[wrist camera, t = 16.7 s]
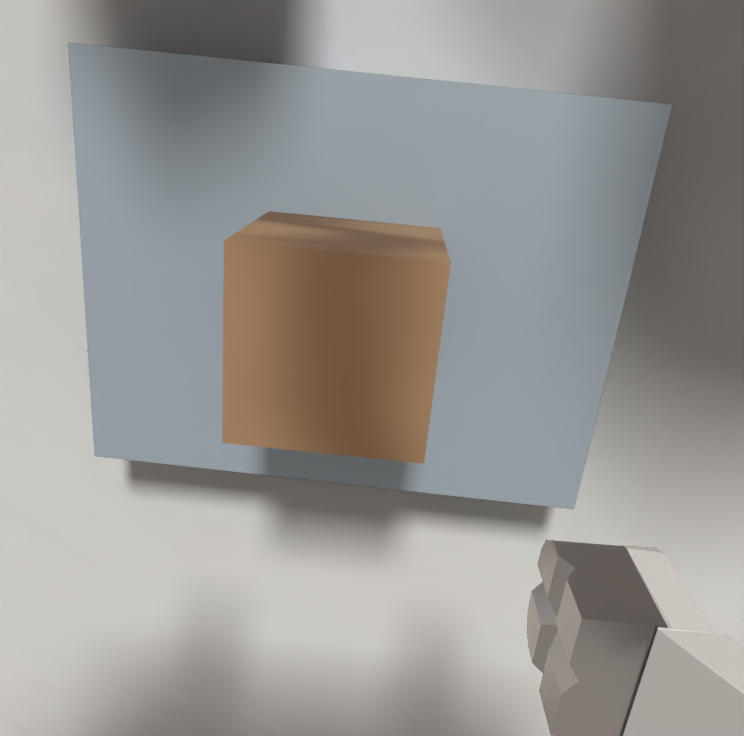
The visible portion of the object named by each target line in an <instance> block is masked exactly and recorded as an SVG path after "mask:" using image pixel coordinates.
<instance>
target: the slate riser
mask: <svg viewBox="0 0 744 736" xmlns="http://www.w3.org/2000/svg"><path fill="white" fill-rule="evenodd" d="M68 46H69V61H70V77H71V93H72V108H73V124H74V140H75V156H76V171H77V187H78V203H79V218H80V234H81V250H82V265H83V281H84V297H85V312H86V328H87V344H88V359H89V375H90V391H91V407H92V422H93V438H94V454H95V456H97V457H106V458H115V459H124V460H133V461H142V462H151V463H160V464H169V465H178V466H187V467H196V468H205V469H214V470H223V471H232V472H241V473H250V474H260V475H269V476H278V477H287V478H296V479H305V480H314V481H323V482H332V483H341V484H350V485H359V486H368V487H377V488H386V489H395V490H404V491H413V492H422V493H431V494H440V495H449V496H458V497H467V498H476V499H485V500H494V501H503V502H512V503H521V504H530V505H539V506H548V507H557V508H566V509H574V508H575V503H576V499H577V495H578V491H579V487H580V483H581V479H582V475H583V471H584V466H585V462H586V458H587V454H588V450H589V446H590V442H591V438H592V433H593V429H594V425H595V421H596V417H597V413H598V409H599V405H600V401H601V396H602V392H603V388H604V384H605V380H606V376H607V372H608V368H609V364H610V359H611V355H612V351H613V347H614V343H615V339H616V335H617V331H618V327H619V322H620V318H621V314H622V310H623V306H624V302H625V298H626V294H627V289H628V285H629V281H630V277H631V273H632V269H633V265H634V261H635V257H636V252H637V248H638V244H639V240H640V236H641V232H642V228H643V224H644V220H645V215H646V211H647V207H648V203H649V199H650V195H651V191H652V187H653V183H654V178H655V174H656V170H657V166H658V162H659V158H660V154H661V150H662V145H663V141H664V137H665V133H666V129H667V125H668V121H669V117H670V113H671V108H672V104H665V103H655V102H645V101H636V100H626V99H616V98H606V97H597V96H587V95H577V94H567V93H558V92H548V91H538V90H528V89H519V88H509V87H499V86H489V85H480V84H470V83H460V82H450V81H441V80H431V79H421V78H411V77H402V76H392V75H382V74H372V73H362V72H353V71H343V70H333V69H323V68H314V67H304V66H294V65H284V64H275V63H265V62H255V61H245V60H236V59H226V58H216V57H206V56H197V55H187V54H177V53H167V52H158V51H148V50H138V49H128V48H119V47H109V46H99V45H89V44H79V43H70V42H68ZM268 211H273V212H283V213H294V214H304V215H314V216H324V217H334V218H345V219H355V220H365V221H375V222H385V223H395V224H406V225H416V226H426V227H436V228H440V229H441V232H442V235H443V239H444V242H445V245H446V248H447V252H448V255H449V258H450V261H451V266H450V274H449V281H448V289H447V296H446V303H445V311H444V318H443V326H442V333H441V341H440V348H439V356H438V363H437V371H436V378H435V386H434V393H433V401H432V408H431V415H430V423H429V430H428V438H427V445H426V453H425V460H424V464H421V463H411V462H402V461H392V460H383V459H373V458H363V457H354V456H344V455H334V454H325V453H315V452H306V451H296V450H286V449H277V448H267V447H257V446H248V445H238V444H229V443H222V413H223V282H224V240H225V239H227V238H228V237H230V236H231V235H233V234H234V233H236V232H237V231H239V230H241V229H242V228H244V227H245V226H247V225H248V224H250V223H251V222H253V221H254V220H256V219H258V218H259V217H261V216H262V215H264V214H265V213H267V212H268Z"/></svg>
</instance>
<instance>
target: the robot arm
mask: <svg viewBox="0 0 744 736" xmlns="http://www.w3.org/2000/svg"><path fill="white" fill-rule="evenodd" d="M538 567H539V571H540V574H541V577H542V580H543V582H542V583H541V584H539V585H538V586H537V587H536V588H535V589H534V590H532V592H531V597H530V602H529V607H528V616H527V638H528V647H529V651H530V656H531V660H532V663H533V664H534V665H535V666H536V667H537V668H538V669H539V670H540V671H541V672H542V673H543V676H542V681H541V685H540V689H539V692H540V696H541V700H542V704H543V707H544V711H545V715H546V719H547V723H548V727H549V731H550V734H551V735H552V736H744V646H743V645H741V644H740V643H738V642H737V641H735V640H734V639H732V638H731V637H729V636H728V635H726V634H718V633H714V632H713V631H712V629H711V627H710V626H709V624H708V623H707V621H706V619H705V618H704V616H703V615H702V613H701V611H700V610H699V608H698V607H697V605H696V604H695V602H694V600H693V599H692V597H691V596H690V594H689V592H688V591H687V589H686V588H685V586H684V584H683V583H682V581H681V580H680V578H679V576H678V575H677V573H676V572H675V570H674V569H673V567H672V565H671V564H670V562H669V561H668V559H667V557H666V556H665V554H664V553H663V552H662V551H660V550H659V549H657V548H653V547H638V546H623V545H619V546H615V545H603V544H591V543H579V542H567V541H555V540H546V541H545V543H544V545H543V547H542V549H541V553H540V557H539V561H538Z"/></svg>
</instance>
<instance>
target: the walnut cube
mask: <svg viewBox="0 0 744 736" xmlns="http://www.w3.org/2000/svg"><path fill="white" fill-rule="evenodd" d="M450 266H451V261H450V258H449V255H448V252H447V248H446V245H445V242H444V239H443V235H442V232H441V229H440V228H436V227H426V226H416V225H406V224H395V223H385V222H375V221H365V220H355V219H345V218H334V217H324V216H314V215H304V214H294V213H283V212H273V211H268V212H267V213H265V214H264V215H262V216H261V217H259V218H258V219H256V220H254V221H253V222H251V223H250V224H248V225H247V226H245V227H244V228H242V229H241V230H239V231H237V232H236V233H234V234H233V235H231V236H230V237H228V238H227V239H225V240H224V282H223V413H222V443H229V444H238V445H248V446H257V447H267V448H277V449H286V450H296V451H306V452H315V453H325V454H334V455H344V456H354V457H363V458H373V459H383V460H392V461H402V462H411V463H421V464H424V460H425V453H426V445H427V438H428V430H429V423H430V415H431V408H432V401H433V393H434V386H435V378H436V371H437V363H438V356H439V348H440V341H441V333H442V326H443V318H444V311H445V303H446V296H447V289H448V281H449V274H450Z"/></svg>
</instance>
